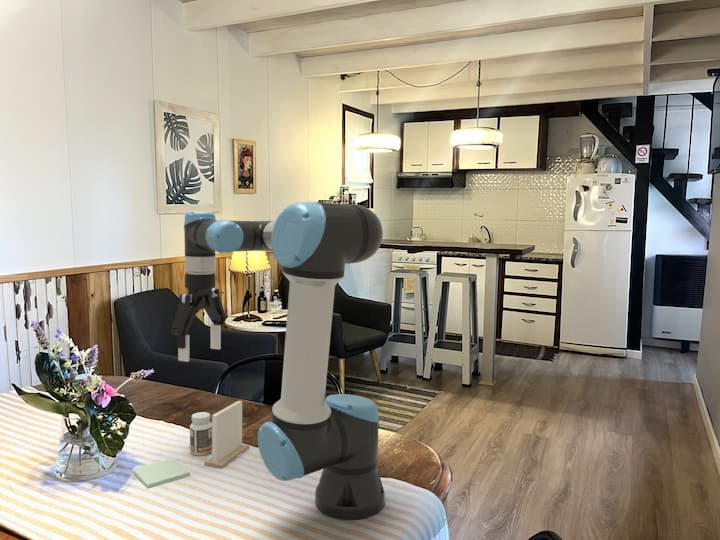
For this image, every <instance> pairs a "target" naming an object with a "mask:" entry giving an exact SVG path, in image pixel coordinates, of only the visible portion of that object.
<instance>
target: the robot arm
mask: <svg viewBox="0 0 720 540" xmlns="http://www.w3.org/2000/svg"><path fill="white" fill-rule="evenodd" d="M183 229H184V271H185V272H186V273H185V274H184V287H185V289H187V290H188V291H187V292H188V293H187V294H186V293H185V294H183V293H181V294H179V299H178V305H177V308H176V313H175V315H174V320H173V322H172V325H171V326H172V327H171V328H170V333H171V334H172V335H175V336H177V352H178V353H177V355H178V356H177V360H178V361H179V362H186V363H187V362H190V335H189V334H188V332H189V330H190V328H191V325H192V324H193V322H194V319H195V317H196V315H197V314H198V313H199V312H200V311H202V310H204V311H205V313H206V314H207V316H208V317H209V319H210V321H211V323H212V324H210V328H209V330H210V349H212V350H221V348H222V347H221V346H222V345H221V344H222V343H221V341H222V339H221V338H222V326H225V324H226V321H227V316H226V312H225V310H224V306H223V302H222V299H221V295H220V293H221V292H220V289H219V288H216V274H215V273H214V272H216V271H217V270H216V269H217V267H216V262H217V261H216V252H217V253H219V254H230V253H233V252H265V251H268V252H269V251H270V252H273V254H272V256H273V257H274V259H275V260H276V262H277V263H278V264H279V265H281V266H282V270H281V271H282V274H283V275H284V276H285V278H286V279H287V280H288V281H289V286H288V287H289V288H288V301H287V302H288V303H287V311H286V312H287V313H286V314H287V315H286V326H285V327H286V328H285V339H284V353H283V355H284V356H283V365H282V367H283V368H282V379H281V393H280V399H279V400H277V401H276V402H275V403H274V404H273V405H272V407H271V408H272V410H271V420H270V421H266V422H264V423H263V424H262V425H261V426H260V427H259V428H258V432H257V445H258V449H259V450H258V451H259V455H260V457H261V458H262V459H261V460H262V461H263V463H264V466H265V468H267V470H268V472H269V473H270V474H271V476H273V477H274V478H276V479H277V480H279V481H282V482H287V481H291V480H295V479H302V478H303V477H305V476H307V475H310V474H313V473H316V472H318V471H322V472H321V475H320V478H319V482H318V484H317V485H316V488H315V493H314V494H315V495H314V497H315V498H314V502H315V503H314V504H315V506H316V507H317V509H318V510H319V511H320V512H321V513H323V514H325V515H327V516H329V517H333V518H336V519H341V520H359V519H366V518H368V517H372V516H374V515H376V514H378V513H379V512H380V511H381V510H382V509H383V508H384V506H385V496H386V495H385V489H384V486H383V483H382V479H381V476H380V472H379V469H378V454H379V453H378V451H379V427H380V426H379V425H380V424H379V423H380V419H379V407H378V405H377V403H376V402H374V401H373V400H372V399H369V398H367V397H364V396H360V395H354V394H347V393H346V394H345V393H339V394H338V393H336V394H330V395H327V396H326V391H327V390H326V388H327V376H328V367H329V354H330V346H331V333H332V322H333V311H334V301H335V300H334V299H335V291H336V290H335V289H336V285H337V284H338V283H339V282H341V280H343V279H344V278H345V270H346V267H345V266H346V265H347V264H348V265H349V264H356V263H362V262H364V261H367V260H368V259H370V258H371V257H373V256H374V255H375V254H376V253H377V252H378V250H379V249H380V247H381V244H382V242H383V234H384V232H383V226H382V223H381V221H380V218H379V217H378V216H377V213H374V211H372V210H371V209H370V208H368V207H367V206H364V205H361V204H354V203H335V202H320V201H319V202H318V201H304V202H303V201H302V202H301V201H300V202H294V203H291V204H289V205H287V206H285V207H284V209H283V210H282V211H281V212H279V214H278V215H277V217H276V219H275V220H228V219H227V220H226V219H225V220H223V219H221V220H218V219H217V220H216V215H215V213H214V212H213V211H211V212H210V211H187V212H186V213H185V214H184V224H183Z"/></svg>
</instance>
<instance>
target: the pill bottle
mask: <svg viewBox="0 0 720 540" xmlns="http://www.w3.org/2000/svg"><path fill="white" fill-rule="evenodd" d="M210 420H211V413H209V412H207V411H200V412H195V413H192V415H191V421H192V422H191V424H189V452H190V453H191V454H192V455H194V456H205V454H206V455H208V454H210V453H212V421H210Z"/></svg>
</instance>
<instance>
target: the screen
mask: <svg viewBox="0 0 720 540" xmlns="http://www.w3.org/2000/svg"><path fill="white" fill-rule="evenodd" d="M211 423H212V451H211V455H212V456H211V457H210V458H208V459H207V460H205V461H204V462H203V463H204V466H207V467H211V466H213V467H212V468H216V467H217V469H221V468H222V469H223V468H225V467H226V466H228V465H229V464H230V463H232V462H233V461H235V460H236V459H235V458H236V457H237V456H238V455H240V454H241V453H242V454H244V453H245V452H246V451H248V450H249V449H250V445H249V444H243V401H242V400H237V401H235V402H233V403H231V404H230V405H228V406H226V407H225V408H223V409H221V410H219V411H217V412H215V413H214V414H212V415H211ZM247 449H248V450H247ZM244 451H245V452H244ZM243 452H244V453H243ZM242 454H241V455H242ZM241 455H240V456H241ZM238 457H239V456H238ZM238 457H237V458H238ZM232 460H233V461H232ZM228 463H229V464H228Z"/></svg>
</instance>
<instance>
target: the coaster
mask: <svg viewBox="0 0 720 540" xmlns="http://www.w3.org/2000/svg"><path fill="white" fill-rule="evenodd" d="M131 472H132V474H134V476H135V477H136V479H138V480H139V481H140V482H141V484H143V485H144V486H145V487H146V488H147V489H150V488H153V487H156V486H160V485H163V484H165V483H170V482H173V481H176V480H179V479H183V478H187V477H189V476H190V475H191V473H190V471H189V470H188V469H187V468H186V467H184V466H183V465H182V464H181V463H180V462H179V461H177V460H176V459H175V458H174V457H173V458H167V459H165V460H160V461H157V462H153V463H149V464H146V465H141V466H138V467H135V468H132V469H131Z"/></svg>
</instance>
